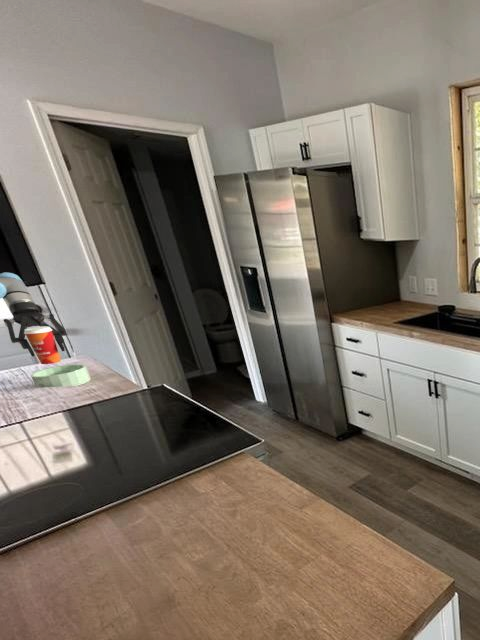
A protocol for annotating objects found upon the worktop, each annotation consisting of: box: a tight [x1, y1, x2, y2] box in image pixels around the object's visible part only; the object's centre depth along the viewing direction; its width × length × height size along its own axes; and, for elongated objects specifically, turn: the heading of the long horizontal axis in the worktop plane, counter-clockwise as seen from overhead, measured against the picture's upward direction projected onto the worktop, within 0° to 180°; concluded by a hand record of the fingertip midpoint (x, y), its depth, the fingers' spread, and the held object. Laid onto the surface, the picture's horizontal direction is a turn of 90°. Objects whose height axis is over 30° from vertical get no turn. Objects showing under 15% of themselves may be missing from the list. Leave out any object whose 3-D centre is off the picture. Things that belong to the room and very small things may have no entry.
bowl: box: [30, 363, 92, 389], centre depth 155 cm, size 14×14×6 cm
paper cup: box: [24, 326, 62, 365], centre depth 163 cm, size 8×8×14 cm
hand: (48, 351), depth 162 cm, fingers closed on paper cup, 8 cm apart
